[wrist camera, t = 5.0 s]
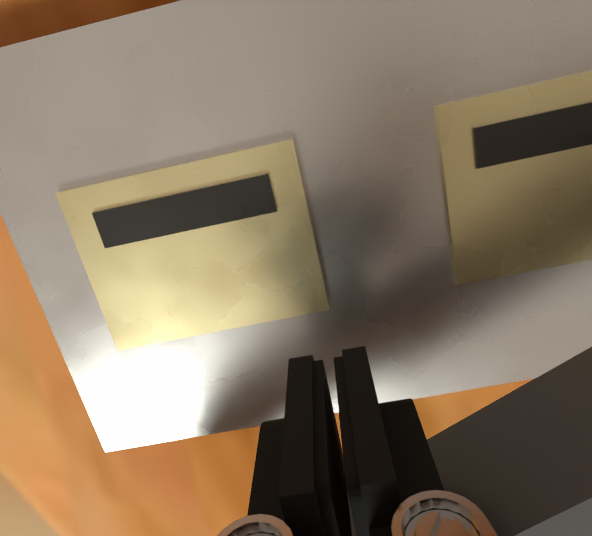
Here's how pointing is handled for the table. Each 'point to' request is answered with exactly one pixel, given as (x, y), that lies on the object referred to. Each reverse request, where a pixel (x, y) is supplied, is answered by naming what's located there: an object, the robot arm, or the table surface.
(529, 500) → the lever
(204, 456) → the table surface
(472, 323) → the label panel
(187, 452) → the table surface
